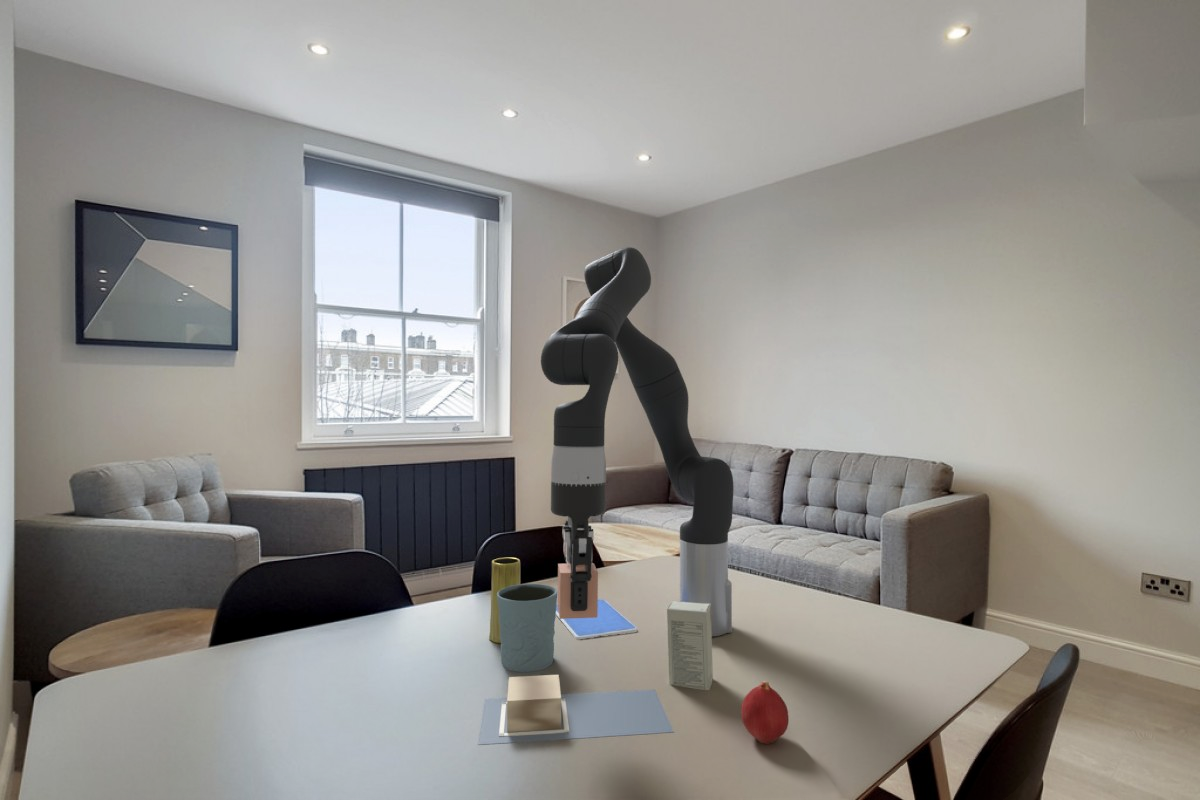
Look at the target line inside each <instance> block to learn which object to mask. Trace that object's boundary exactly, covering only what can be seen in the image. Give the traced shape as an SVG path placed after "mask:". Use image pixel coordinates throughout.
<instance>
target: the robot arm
mask: <svg viewBox="0 0 1200 800" xmlns="http://www.w3.org/2000/svg"><path fill="white" fill-rule="evenodd" d="M583 273H584V282H585V285H586V288H587V290H588V293H589V295H590V297H589V298H588V299H587V300H585V302H584V303H583V304H582V306H581V307H580V309H579V310H578V312H577V313H576V315H575V317H574V318H573V319H572V320H570V321H569V322H567V323H566V324H564V325H563V326H561V327H559V328H558V329H557V330H556V331H554V332H553V333H552V334H551V335H550V336H549V337H548V338H547V340H546V341H545V343H544V346H543V347H542V351H541V355H540V366H541V371H542V373H543V375H544V377H545V378H546V379H547V380H548V381H549V382H551V383H553V384H554V385H555V384H556V385H558V386H588V389H587V392H586V393H585V395H584V396H583V397H582V398H581V399H578V400H577V399H576V400H573V401H569V402H564V403H561V404H559V405H557V406H556V407H555V408H554V413H553V448H552V450H553V451H552V456H551V466H550V469H551V470H550V511H551V513H552V514H554V515H556V516H558V517H565V518H566V517H567V520H565V523H564V525H563V526H562V539H563V555H564V560H565V564H569V565H570V576H569V580H570V583H571V597H570V607H571V610H572V611H585V610H586V609H587V599H588V582H589V581H590V580H591V578H592V574H591V563H593V544H594V537H595V536H594V533H595V532H594V528H592V525H589V519H590V518H591V517H598V516H602V515H603V514H605V512H606V498H607V497H606V493H607V492H606V490H607V489H606V488H607V487H606V485H607V481H606V480H607V477H606V476H607V475H606V474H607V463H606V462H607V461H606V460H607V459H606V453H605V452H606V451H605V431H606V430H605V419H606V412H607V408H608V407H607V406H608V402H609V398H610V392H611V390H612V385H613V383H614V379H615V375H616V373H617V369H618V365H619V356H621V357H620V358H621V359H622V361H623V364H624V366H625V369H626V371H627V373H628V376H629V378H630V382H631V383H632V387H633V388H634V391H635V393H636V395H637V397H638V400H639V402H640V404H641V407H642V408H643V410H644V413H645V415H646V418H647V420H648V422H649V424H650V426H651V427H650V428H651V429H652V431H653V434H654V436H655V438H656V441H657V443H658V445H659V448H660V452H661V454H662V457H663V460H664V464H665V467H666V470H667V473H668V477H669V479H670V483H671V485H672V488H673V490H674V491H675V493H676V494H677V495H678V496H679V497H680V499H682V500H683V501H686V502H690V503H693V508H692V509H693V510H692V517H691V518H690V519H689V520H687V521H684V522H683V523H681V525H680V527H679V601H681V602H694V603H706V604H711V631H712V637H719V636H723V635H725V634H727V633H728V634H730V633H731V634H732V633H733V621H732V620H733V619H732V617H733V613H732V612H733V611H732V609H733V607H732V606H733V603H732V602H733V597H732V595H733V592H732V591H733V590H732V589H733V588H732V581H730V580H729V539H728V538H729V531H730V529H731V526H732V522H733V512H734V511H733V509H734V504H733V503H734V477H733V473H732V471H731V468H730V466H729V465H728V463H727V462H726V461H725V460H723V459H720V458H716V457H711V456H710V457H709V456H701V454H700V452H699V451H698V449H697V447H696V445H695V443H694V440H693V439H692V436H691V433H690V430H689V424H688V418H689V417H688V416H689V391H688V388H687V385H686V382H685V380H684V377H683V374H682V372H681V370H680V368H679V365H678V363H677V360H676V359H675V358H674V357H673V356H672V354H670V352H668V351H667V350H666V349H665V348H664V347H662V346H661V345H659V344H658V343H656V342H655V340H654V341H653V340H652V339H650V338H649V337H648V336H646V334H644V333H642V332H641V331H640V330H639V329H638V328H637V327H636V326H634V324H633V323H632V322H631V321H630V319H629V318H628V316H629V315H630V313H631V312H632V311H633V309H634V308H635V307H636V306H637V304H638V303H639V302H640V301H641V299H642V298H644V296H645V295H646V294H647V293H648V292H649V290H650V288H651V285H652V277H651V276H652V275H651V272H650V268H649V264H648V263H647V260H646V259H645V257H644V256H643V254H642V252H640V251H639V250H638V249H637V248H635V247H630V246H629V247H625V248H621V249H617V250H616V251H613V252H611V253H609V254H607V255H604V256H603V257H600V258H598V259H596V260H593V261H592V262H590V263H588V264H587V265H586V266H585V268H584V272H583ZM619 354H620V355H619ZM577 565H584V567H585V571H576V566H577Z"/></svg>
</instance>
